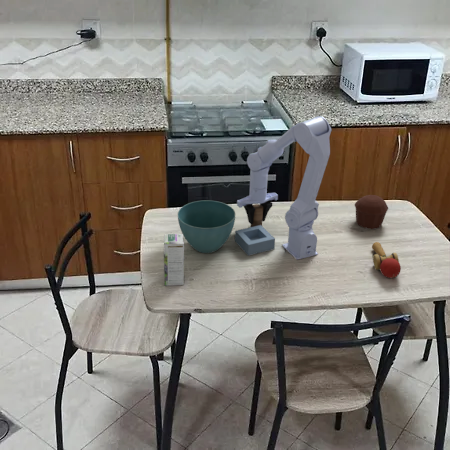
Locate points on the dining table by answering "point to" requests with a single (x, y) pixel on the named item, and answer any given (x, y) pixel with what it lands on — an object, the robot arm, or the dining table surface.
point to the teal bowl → (206, 224)
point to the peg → (257, 215)
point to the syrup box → (173, 259)
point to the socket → (254, 240)
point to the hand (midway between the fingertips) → (256, 221)
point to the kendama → (385, 262)
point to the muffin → (370, 211)
